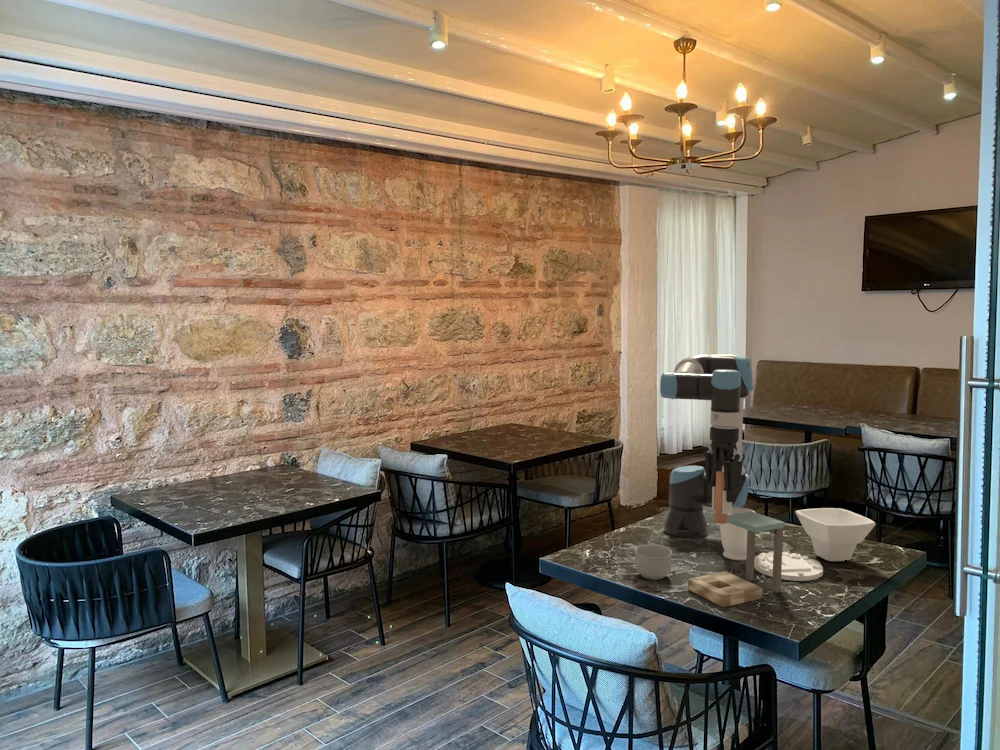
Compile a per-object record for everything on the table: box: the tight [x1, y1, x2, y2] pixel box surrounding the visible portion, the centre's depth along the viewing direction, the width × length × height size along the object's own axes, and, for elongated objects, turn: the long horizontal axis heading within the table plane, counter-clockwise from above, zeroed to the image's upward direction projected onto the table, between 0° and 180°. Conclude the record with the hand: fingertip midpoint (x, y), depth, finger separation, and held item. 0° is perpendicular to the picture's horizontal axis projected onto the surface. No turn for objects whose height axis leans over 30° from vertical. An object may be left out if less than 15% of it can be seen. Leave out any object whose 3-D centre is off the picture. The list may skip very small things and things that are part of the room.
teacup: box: [625, 543, 673, 581], centre depth 219 cm, size 14×11×8 cm
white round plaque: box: [754, 550, 824, 582], centre depth 224 cm, size 20×20×3 cm
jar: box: [719, 507, 756, 561], centre depth 236 cm, size 11×10×15 cm
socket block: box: [687, 570, 763, 608], centre depth 205 cm, size 14×14×3 cm
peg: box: [714, 470, 728, 524], centre depth 202 cm, size 3×3×14 cm
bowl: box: [795, 507, 876, 562], centre depth 234 cm, size 19×19×14 cm
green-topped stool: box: [727, 511, 785, 594], centre depth 209 cm, size 12×11×20 cm
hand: (721, 511), depth 202 cm, fingers closed on peg, 3 cm apart
